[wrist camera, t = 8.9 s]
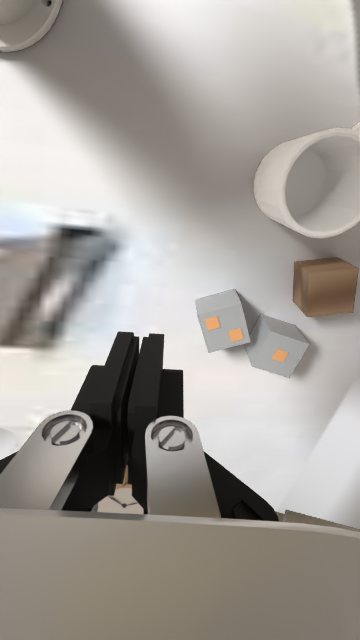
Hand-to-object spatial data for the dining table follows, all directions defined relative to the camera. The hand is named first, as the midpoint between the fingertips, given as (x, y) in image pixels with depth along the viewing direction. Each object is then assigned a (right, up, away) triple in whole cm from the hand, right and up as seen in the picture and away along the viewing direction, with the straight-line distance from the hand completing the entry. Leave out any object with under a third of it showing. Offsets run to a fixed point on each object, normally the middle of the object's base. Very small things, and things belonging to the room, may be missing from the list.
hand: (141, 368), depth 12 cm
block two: (+6, +3, +29) cm, 29 cm away
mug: (+15, +18, +22) cm, 32 cm away
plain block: (+18, +7, +27) cm, 33 cm away
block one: (+13, 0, +30) cm, 33 cm away
